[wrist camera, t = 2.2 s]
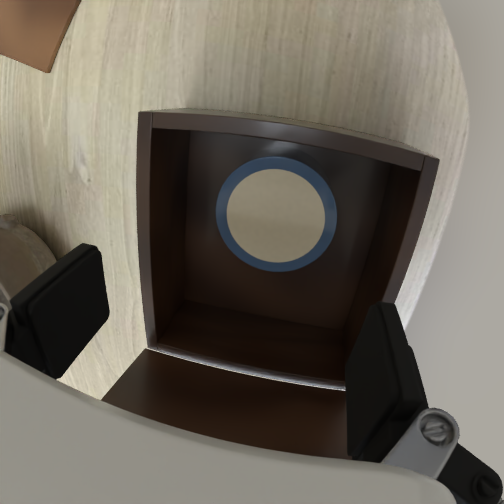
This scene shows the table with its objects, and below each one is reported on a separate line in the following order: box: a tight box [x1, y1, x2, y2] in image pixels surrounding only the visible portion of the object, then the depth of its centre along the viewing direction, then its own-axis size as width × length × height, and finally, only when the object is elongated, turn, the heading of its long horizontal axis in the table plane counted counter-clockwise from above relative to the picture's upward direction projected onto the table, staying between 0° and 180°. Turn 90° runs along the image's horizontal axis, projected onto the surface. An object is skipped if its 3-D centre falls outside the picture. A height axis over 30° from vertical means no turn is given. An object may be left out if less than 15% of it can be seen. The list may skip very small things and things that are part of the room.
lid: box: [101, 348, 352, 460], centre depth 13 cm, size 18×16×5 cm
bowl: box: [0, 214, 57, 311], centre depth 27 cm, size 17×18×10 cm
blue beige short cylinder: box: [216, 147, 337, 272], centre depth 20 cm, size 7×7×5 cm
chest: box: [136, 108, 439, 390], centre depth 21 cm, size 17×16×7 cm
